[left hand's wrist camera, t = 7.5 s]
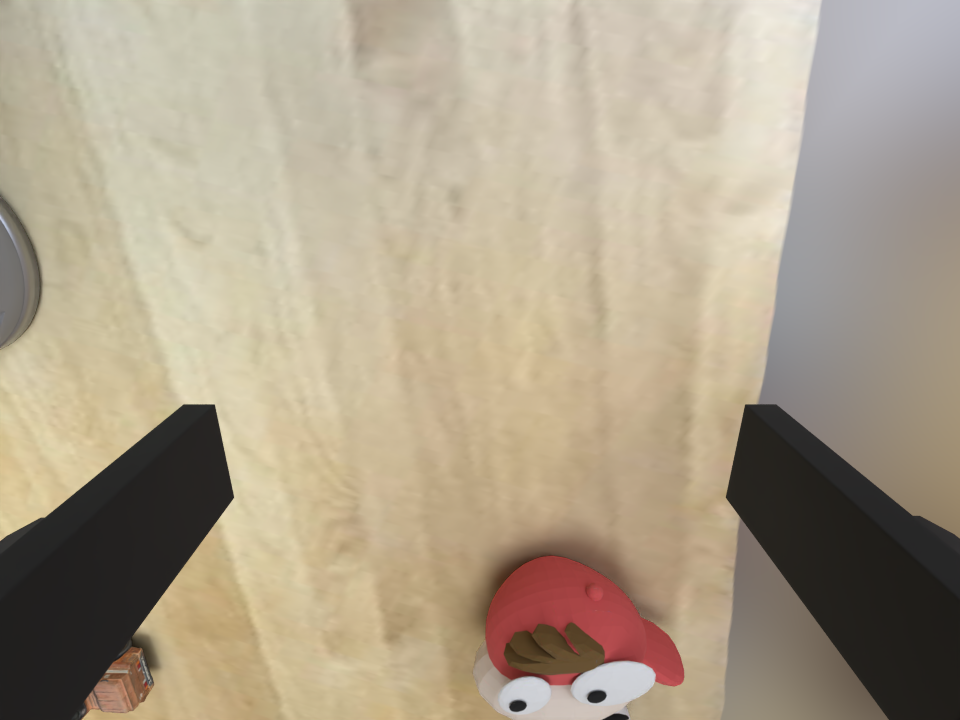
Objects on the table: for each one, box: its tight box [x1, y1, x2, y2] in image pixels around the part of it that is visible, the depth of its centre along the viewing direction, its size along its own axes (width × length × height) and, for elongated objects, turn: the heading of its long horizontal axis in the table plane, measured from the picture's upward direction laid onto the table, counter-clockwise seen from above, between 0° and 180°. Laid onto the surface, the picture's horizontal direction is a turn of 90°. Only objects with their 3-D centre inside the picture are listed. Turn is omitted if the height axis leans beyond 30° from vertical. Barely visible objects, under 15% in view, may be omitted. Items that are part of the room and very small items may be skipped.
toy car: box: [71, 639, 154, 720], centre depth 47 cm, size 6×12×7 cm, turn 98°
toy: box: [473, 555, 684, 720], centre depth 47 cm, size 18×10×30 cm
